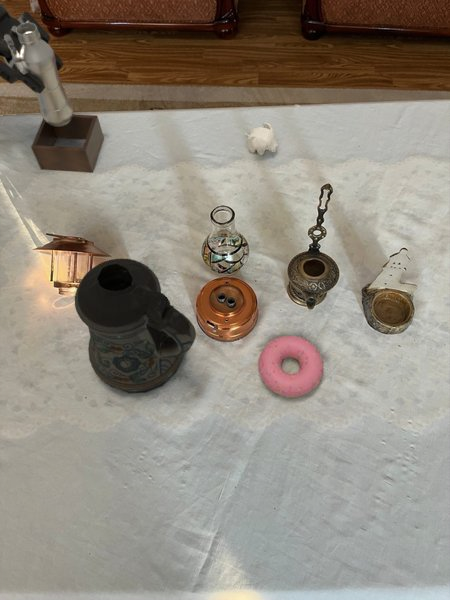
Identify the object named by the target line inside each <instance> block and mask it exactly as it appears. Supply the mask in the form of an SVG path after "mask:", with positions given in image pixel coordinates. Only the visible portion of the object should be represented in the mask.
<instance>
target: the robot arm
mask: <svg viewBox="0 0 450 600" xmlns="http://www.w3.org/2000/svg"><path fill="white" fill-rule="evenodd" d="M27 22H30V23H34V24H35V25H36V27H37V29H38V32H39V33H40V36H41V38H40V39H42V40H43V41H45V42H46V43H47V44H48V45H49V42H50V40H51V36H50V34H48V32H47V31H46V30H45V29H44V28H43V27H42V25H40V23H39V22H38V21H37V20H36V19H35V18H34V17H33V16H32V14H31V13H30V12H28V11H26V10H25V11H24V12H23V13H22V14H21V16H19V17H18V18H16V17H13V16H11V15H10V14H9V12H8V10H7V8H6V7H5V6H4V5H3V4H1V2H0V57H2V58H3V60H4V61H2V60H1V59H0V78H2V79H3V80H4V81H6V82H7V83H9V84H14V83H15V82H18V81H21V82H22V83H23V84H25V85H26V87H28V88H29V89H30V90H31V91H33V93H35V94H36V93H37V92H38V93H41V92H42V91H43V90H44V89H45V85H44V84H43V83H41V82H40V81H39V80H38V79H37V78H36V77H35V76H34V75H32V74H31V73H30V72H28V73H27V70H26V68H25V67H24V66H23V65H22V63H21V57H20V54H19V50H20V46H21V43H20V42H19V39H18V35H17V32H16V29H17V27H18V26H19V25H20V24H23V23H27ZM54 55H55V60H56V65H57V70H58V72H59V71H60V70H61V69H62V68H63V67H64V62H63V60H62V59H61V57H60V56H58V55H57V54H56V53H55V52H54Z"/></svg>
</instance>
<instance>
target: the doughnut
mask: <svg viewBox="0 0 450 600" xmlns="http://www.w3.org/2000/svg"><path fill="white" fill-rule="evenodd" d="M287 358H288V359H289V358H292V359H294V360H296V361H298V363H299V365H300V366H299V370H298V371H296V372H292V373H288V372H285V370H283V368H282V361H284V359H287ZM257 367H258V373H259V375H260V379H261V380H262V382H263V383H264V384H265V386H266V387H267V388H268V389H270V390H271V391H272V392H273V393H275V394H277V395H280V396H282V397H287V398H295V397H300V396H304V395H306V394H308V393H311V391H313V390H314V389H315V388H317V386H318V385H319V383H320V382H321V380H322V377H323V374H324V360H323V358H322V354H321V352H320V351H319V350H318V349H317V346H315V345H314V344H313V343H312V342H310V340H307V339H306V338H303V337H302V336H299V335H282V336H278V337H275V338H274V339H272V340H271V341H269V342H268V343H267V344H266V345H265V346H264V347H263V348H262V351H261V352H260V354H259V357H258V364H257Z"/></svg>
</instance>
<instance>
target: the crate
mask: <svg viewBox="0 0 450 600" xmlns="http://www.w3.org/2000/svg"><path fill="white" fill-rule="evenodd" d="M57 139H69V140H70V139H71V140H72V139H73V140H84V143H83V146H82V147H73V146H55V144H56V141H57ZM104 140H105V137H104V133H103V130H102V127H101V123H100V120H99V117H98V115H92V114H76V113H73V117H72V119H71V121H70V122H69V123H68V124H66V125H64V126H60V127H55V126H52V125H50V124H48V123H47V122H46V121H45V120H44V118H43V117H42V120H41V122H40V125H39V128H38V130H37V132H36V134H35V137H34V139H33V142H32V144H31V147H30V148H31V151H32V153H33V155H34V158H35V159H36V162H37V164H38V166H39V169H40V170H43V171H58V172H59V171H60V172H75V173H90V174H91V173H94V171H95V168H96V166H97V165H96V164H97V162H98V159H99V155H100V152H101V149H102V146H103V143H104Z"/></svg>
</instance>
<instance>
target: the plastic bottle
mask: <svg viewBox="0 0 450 600" xmlns="http://www.w3.org/2000/svg"><path fill="white" fill-rule="evenodd" d="M16 32H17V35H18V39H19V42H20V43H21V46H20V50H19V54H20V57H21V63H22V65H23V66H24V67H25V68H26V70H27V73H28V72H30V73H31V74H32V75H34V76H35V77H36V78H37V79H38V80H39V81H40V82H41V83H43V84H44V85H45V89H44V90H43V91H42V92H41V93H38V92H37V93H36V92H35V95H36V98H37V102H38V107H39V111H40V112H39V113H40V115H41V117H42V119H43V118H44V120H45V121H46V122H47V123H48V124H50V125H52V126H55V127H60V126H64V125H66V124H68V123H69V122H70V121H71V119H72V117H73V114H74V107H73V106H74V105H73V103H72V101H71V100H70V97H68V95H67V93H66V91H65V88H64V86H63V83H62V81H61V78H60V74H59V71H58V70H57V65H56V60H55V55H54V53H55V52H54V50H53V48H52V47H51V45H50V44H49V43H48V44H47V43H46V42H45V41H43V40H42V39H40V38H41V35H40V33H39V32H38V29H37V27H36V25H35V24H34V23H30V22H27V23H23V24H20V25H19V26H18V27H17V29H16Z"/></svg>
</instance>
